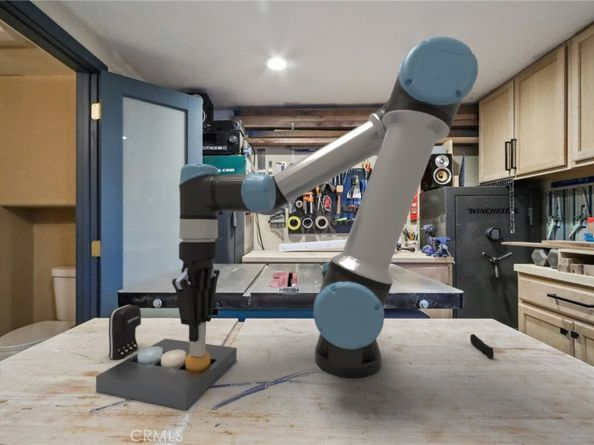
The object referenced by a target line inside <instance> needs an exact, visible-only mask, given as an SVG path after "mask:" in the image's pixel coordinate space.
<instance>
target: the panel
mask: <svg viewBox="0 0 594 445" xmlns="http://www.w3.org/2000/svg"><path fill="white" fill-rule="evenodd" d="M155 346H157V347H162V348H163V354H164V353H166V352H168V351H172V350H184V351H185V352H186V356H187V355H188V354H190V341H189V340H180V339H179V340H178V339H172V338H164V339H162V340H160V341H158V342H156V343H154V344H152V345H150V346H149V347H155ZM237 348H238V347H235V346H234V347H232V346H227V345H226V346H225V345H219V344H218V345H217V344H210V343H205V351H208V352H209V353H210V367H209V368H207V369H206V370H205V371H204V372H203V373H197V372H191V371H186V362H185V363H183V364H182V365H180V366H179V367H178V368H176V369H173V368H167V367H161V359H160V360H158V361H156V362H155V363H153V364H152V365H149V364H143V363H138V353H136V354H134V355H132V356H131V357H128V358H126V359H124V360H123V361H121V362H119V363H117V364H115V365H114V366H112V367H110V368H109V369H106V370H104V371H103V372H100V373H99V374H97V375H96V377H95V392H96V393H100V394H104V395H109V396H114V397H118V398H123V399H129V400H132V401H139V402H142V403H143V402H144V403H148V404H153V405H156V406H157V405H158V406H162V407H167V408H172V409H175V410H182V411H188V410H189V409H190V408H191V406H192V405H193V404H194V403H196V402H197V401H198V400H199V398H201V396H203V395H204V393H206V392H207V391H208V390H209V389H210V388H211V387H212V386H213V385H214V384H215V383H216V382H217V381H218V380H219V379H220V378H221V377H222V376H223V375H224V374H225V373H226V372H227V371H228V370H229V369H230V368H231V367H232V366H233V365H234V364H235V363H236V362H237V361H238V360H237V358H238V357H237V353H238V352H237V350H238V349H237Z"/></svg>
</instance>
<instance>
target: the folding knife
mask: <svg viewBox="0 0 594 445" xmlns="http://www.w3.org/2000/svg"><path fill="white" fill-rule="evenodd" d="M469 338H470V340H469V341H470V344H471V345H472V346H473V347H474V348H475V349H477V350H478V351H479V352H480V351H481V352H482V353H481V352H480V353H481V354H483V355H484V356H485V355H486V356H487V357H488V358H487V357H486V356H485V357H486V358H487V359H491V360H492V359H494V356H495V353H494V348H493V347H492V346H490V345H488V344H486V343H485V342H484V341H483V340H482V339H480V338H479V337H478V336H476V334H475V333H471V334H470V337H469Z"/></svg>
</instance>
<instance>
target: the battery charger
mask: <svg viewBox="0 0 594 445" xmlns="http://www.w3.org/2000/svg"><path fill="white" fill-rule="evenodd" d="M141 324H142V313H141V308H140V307H139V306H138V305H132V304H126V305H124V306H120V307H117V308H116V309H113V310H112V311H111V312H110V314H109V319H108V343H109V344H108V345H109V346H108V348H109V349H108V350H109V352H108V353H109V354H108V358H109V359H112V360H113V359H114V360H115V359H122V358H125V357H127V356H128V355H130V354H131V353H133V352H135V351H137V350H138V348H139V346H138V345H139V344H138V342H137V338H136V337H137V336H136V330H137V327H139V326H141Z"/></svg>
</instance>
